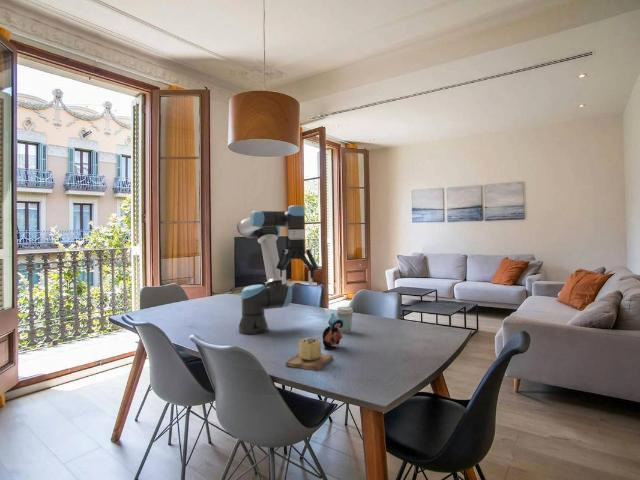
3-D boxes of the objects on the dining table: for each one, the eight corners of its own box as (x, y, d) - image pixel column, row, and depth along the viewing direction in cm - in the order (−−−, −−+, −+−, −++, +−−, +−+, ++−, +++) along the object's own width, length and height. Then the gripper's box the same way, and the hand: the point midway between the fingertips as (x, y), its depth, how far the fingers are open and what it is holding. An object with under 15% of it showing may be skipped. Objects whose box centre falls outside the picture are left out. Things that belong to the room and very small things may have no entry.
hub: (296, 358, 144) (296, 342, 144) (304, 351, 151) (304, 337, 151) (315, 360, 141) (315, 344, 141) (323, 353, 148) (322, 338, 148)
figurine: (332, 352, 158) (331, 317, 157) (319, 349, 162) (319, 314, 162) (346, 346, 165) (346, 313, 165) (334, 343, 170) (334, 311, 170)
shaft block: (285, 366, 142) (285, 341, 142) (300, 354, 155) (300, 332, 155) (320, 370, 137) (319, 345, 137) (332, 358, 150) (332, 335, 150)
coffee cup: (352, 334, 185) (352, 310, 185) (335, 333, 187) (335, 309, 186) (354, 329, 193) (354, 306, 193) (338, 329, 195) (337, 306, 195)
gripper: (268, 239, 174) (269, 284, 175) (318, 239, 165) (319, 286, 166) (276, 238, 181) (277, 282, 182) (324, 238, 172) (324, 284, 173)
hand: (297, 284), depth 174 cm, fingers open, 13 cm apart
